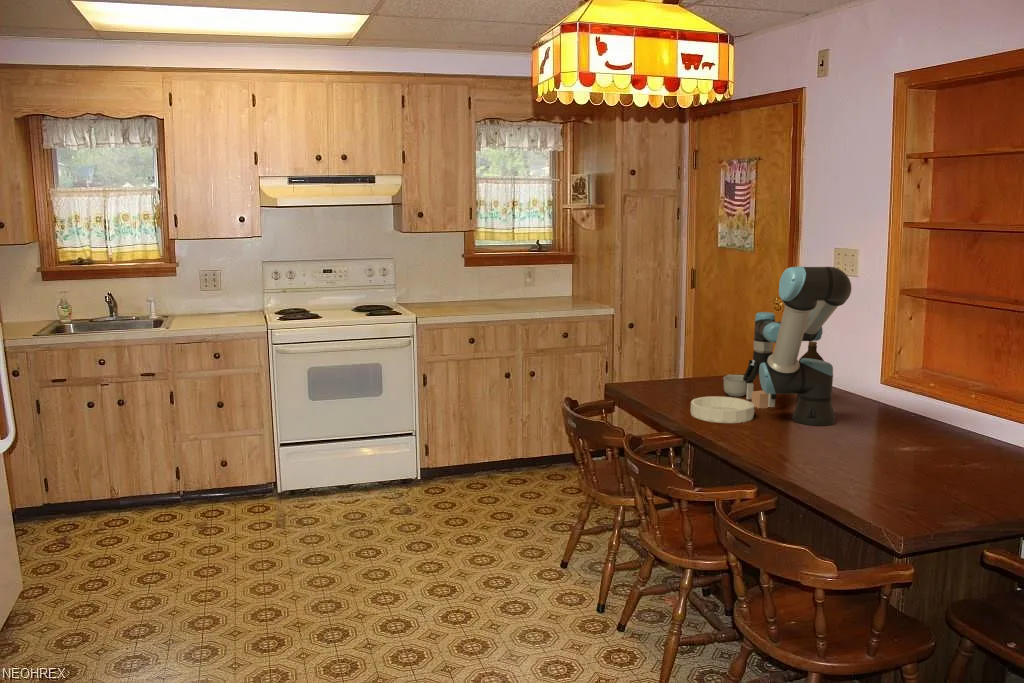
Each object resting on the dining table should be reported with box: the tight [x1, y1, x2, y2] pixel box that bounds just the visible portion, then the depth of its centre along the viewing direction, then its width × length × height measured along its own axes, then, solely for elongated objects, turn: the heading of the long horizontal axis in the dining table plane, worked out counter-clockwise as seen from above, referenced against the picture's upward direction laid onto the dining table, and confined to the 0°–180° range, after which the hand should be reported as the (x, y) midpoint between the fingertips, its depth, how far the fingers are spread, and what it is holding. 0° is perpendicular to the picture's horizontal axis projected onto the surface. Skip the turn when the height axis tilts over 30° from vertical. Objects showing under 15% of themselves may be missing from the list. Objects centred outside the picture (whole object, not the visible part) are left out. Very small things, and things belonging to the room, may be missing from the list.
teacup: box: [722, 374, 747, 398], centre depth 372 cm, size 14×11×8 cm
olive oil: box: [796, 341, 825, 402], centre depth 357 cm, size 11×11×25 cm
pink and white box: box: [751, 390, 769, 409], centre depth 351 cm, size 5×5×6 cm
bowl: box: [690, 395, 755, 424], centre depth 336 cm, size 23×23×5 cm
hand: (760, 402), depth 351 cm, fingers open, 13 cm apart
